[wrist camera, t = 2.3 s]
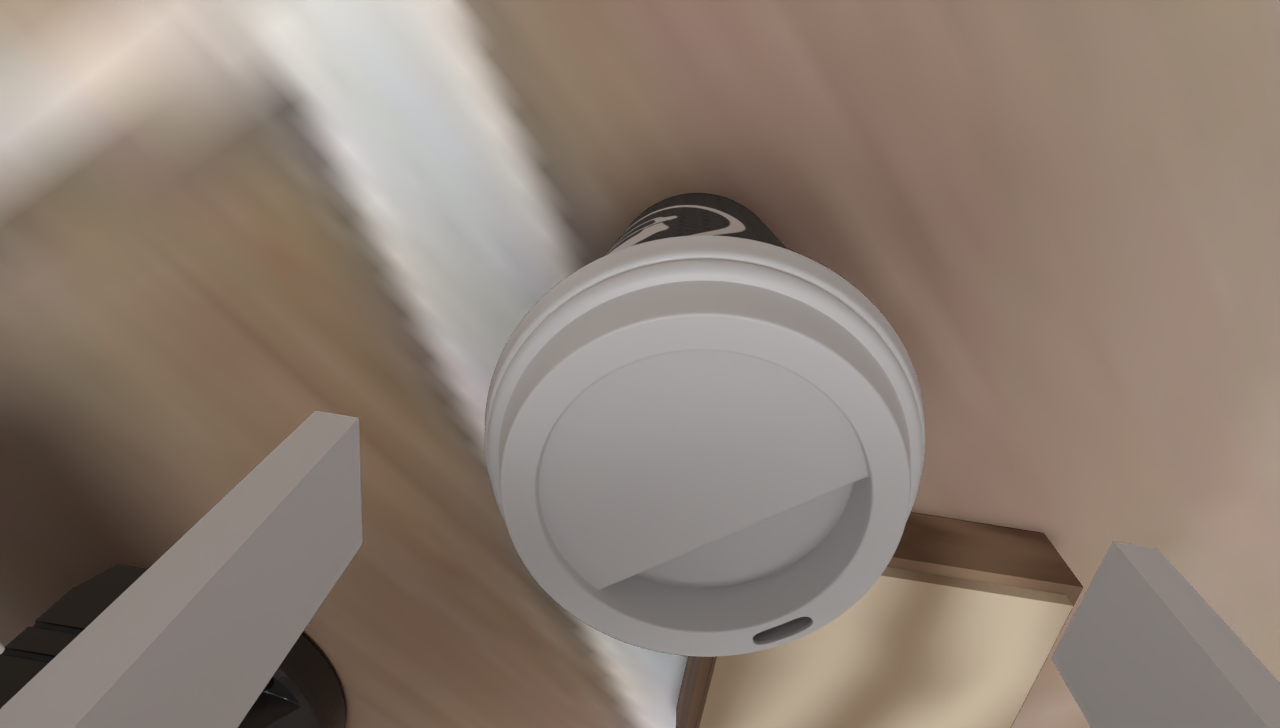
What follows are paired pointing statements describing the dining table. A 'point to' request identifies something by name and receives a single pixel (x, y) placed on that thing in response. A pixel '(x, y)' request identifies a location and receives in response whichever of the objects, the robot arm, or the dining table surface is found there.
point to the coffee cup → (704, 437)
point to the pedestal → (907, 642)
